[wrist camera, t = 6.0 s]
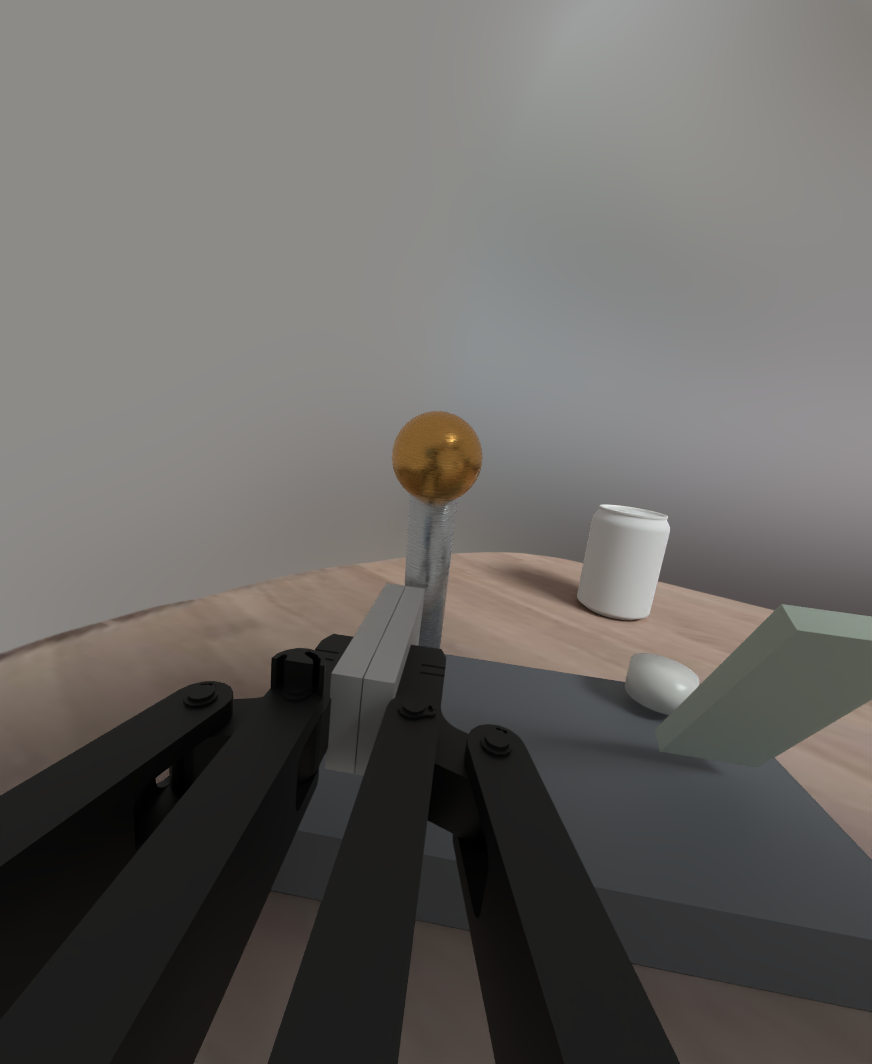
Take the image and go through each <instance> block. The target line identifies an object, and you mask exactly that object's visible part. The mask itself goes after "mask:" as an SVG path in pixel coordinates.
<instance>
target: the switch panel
mask: <svg viewBox="0 0 872 1064" xmlns="http://www.w3.org/2000/svg"><path fill="white" fill-rule="evenodd" d="M444 655H445V656H446V667H445V676H444V684H443V693H442V702H441V712H442V714H443V716H444V718H445V719H446V720H447V721H448V722H449V723H450V724H451V725H452V726H454V727H455V728H457V729H459V730H461V731H464V732H466V733H468V734H469V733H470V731H471V730H472V729H473V728H475V727H477V726H479V725H485V724H493V725H500V726H502V727H505V728H507V729H510V730H511V731H512V732H514V733H515V734H517V735H518V736H519V737H520V739H521V740H522V741H523V743H524V744H525V746H526V748H527V750H528V752H529V754H530V756H531V758H532V760H533V762H534V764H535V766H536V768H537V771H538V773H539V775H540V777H541V779H542V781H543V783H544V785H545V787H546V789H547V791H548V793H549V795H550V797H551V799H552V801H553V803H554V805H555V808H556V810H557V812H558V814H559V816H560V818H561V820H562V822H563V824H564V826H565V828H566V830H567V832H568V834H569V836H570V838H571V840H572V842H573V845H574V847H575V849H576V851H577V853H578V855H579V857H580V859H581V861H582V863H583V865H584V867H585V869H586V871H587V873H588V875H589V877H590V879H591V882H592V884H593V886H594V888H595V890H596V892H597V894H598V896H599V898H600V900H601V902H602V904H603V906H604V908H605V910H606V912H607V914H608V916H609V919H610V921H611V923H612V925H613V927H614V929H615V931H616V933H617V935H618V937H619V939H620V941H621V943H622V945H623V947H624V949H625V951H626V953H627V955H628V958H629V960H630V962H631V963H633V964H638V965H643V966H648V967H653V968H657V969H662V970H667V971H672V972H677V973H682V974H687V975H692V976H697V977H702V978H707V979H712V980H717V981H722V982H727V983H732V984H737V985H742V986H747V987H752V988H756V989H761V990H766V991H771V992H776V993H781V994H786V995H791V996H796V997H801V998H806V999H811V1000H816V1001H821V1002H826V1003H831V1004H836V1005H841V1006H846V1007H851V1008H856V1009H860V1010H865V1011H870V1012H872V860H871V859H870V858H869V857H868V856H867V854H866V853H865V852H864V851H863V850H862V849H861V848H860V847H859V846H858V845H857V844H856V843H855V842H854V841H853V840H852V839H851V838H850V837H849V836H848V834H847V833H846V832H845V831H844V830H843V829H842V828H841V827H840V826H839V825H838V824H837V823H836V822H835V821H834V820H833V819H832V818H831V817H830V816H829V815H828V813H827V812H826V811H825V810H824V809H823V808H822V807H821V806H820V805H819V804H818V803H817V802H816V801H815V800H814V799H813V798H812V797H811V796H810V795H809V793H808V792H807V791H806V790H805V789H804V788H803V787H802V786H801V785H800V784H799V783H798V782H797V781H796V780H795V779H794V778H793V777H792V776H791V775H790V774H789V772H788V771H787V770H786V769H785V768H784V767H783V766H782V765H781V764H780V763H779V762H778V761H777V760H776V759H775V758H773V759H771V760H769V761H767V762H766V763H764V764H762V765H761V766H759V767H757V768H756V767H750V766H744V765H738V764H732V763H726V762H720V761H714V760H708V759H702V758H696V757H690V756H684V755H678V754H672V753H666V752H660V750H659V746H658V742H657V738H656V734H655V729H656V728H657V727H658V726H659V725H660V724H661V723H662V722H663V721H664V720H665V719H666V718H667V717H668V716H669V715H666V714H662V713H659V712H656V711H654V710H651V709H649V708H647V707H645V706H643V705H641V704H640V703H638V702H637V701H635V700H634V699H633V698H632V697H631V696H630V695H629V694H628V693H627V692H626V690H625V687H624V685H625V682H621V681H614V680H608V679H601V678H595V677H588V676H582V675H575V674H569V673H563V672H556V671H550V670H543V669H537V668H530V667H524V666H517V665H511V664H505V663H498V662H492V661H485V660H479V659H472V658H466V657H459V656H453V655H446V654H444ZM325 759H326V753H325V755H324V757H323V759H322V762H321V764H320V766H319V778H318V783H317V787H316V789H315V792H314V794H313V796H312V798H311V801H310V803H309V805H308V807H307V810H306V812H305V814H304V816H303V819H302V821H301V823H300V825H299V828H298V830H297V832H296V834H295V836H294V839H293V841H292V843H291V845H290V848H289V850H288V852H287V854H286V857H285V859H284V861H283V863H282V866H281V868H280V870H279V872H278V875H277V877H276V879H275V881H274V884H273V886H272V888H271V891H276V892H281V893H286V894H291V895H296V896H301V897H306V898H311V899H316V900H321V901H322V899H323V896H324V893H325V890H326V887H327V884H328V881H329V878H330V875H331V872H332V869H333V866H334V863H335V860H336V857H337V854H338V851H339V848H340V845H341V842H342V839H343V836H344V833H345V830H346V827H347V824H348V821H349V818H350V815H351V812H352V809H353V806H354V803H355V800H356V797H357V794H358V791H359V788H360V785H361V782H362V779H363V775H357V774H355V772H354V774H352V773H346V772H340V771H334V770H328V769H325ZM415 920H420V921H425V922H430V923H435V924H440V925H445V926H450V927H454V928H459V929H464V930H469V931H470V929H469V924H468V919H467V913H466V908H465V903H464V898H463V893H462V888H461V883H460V877H459V872H458V867H457V862H456V857H455V852H454V847H453V834H452V833H450V832H448V831H447V830H445V829H443V828H441V827H439V826H437V825H435V824H433V823H431V822H429V821H427V829H426V837H425V845H424V853H423V861H422V870H421V878H420V886H419V894H418V902H417V910H416V918H415Z"/></svg>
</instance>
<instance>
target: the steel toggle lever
mask: <svg viewBox="0 0 872 1064" xmlns="http://www.w3.org/2000/svg"><path fill="white" fill-rule="evenodd" d="M392 462H393V468H394V472H395V474H396V477H397V479H398V481H399V482H400V484H401V485H402V486H403V488H404V489H405V490H406V491H408V492H409V493H410V500H409V519H408V535H407V536H408V537H407V554H406V571H405V587H406V586H410V587H417V588H424V589H425V593H424V602H423V610H422V618H421V627H420V635H419V644H418V646H424V647H431V648H438V649H440V644H441V636H442V627H443V619H444V610H445V602H446V594H447V585H448V577H449V568H450V560H451V552H452V543H453V535H454V526H455V518H456V509H457V501H458V497H460V496H462V495H463V494H465V493H466V492H467V491H468V490H469V489H470V488H471V487H472V485H473V484H474V483H475V481H476V480H477V477H478V476H479V473H480V470H481V465H482V449H481V444H480V441H479V439H478V437H477V435H476V433H475V431H474V430H473V428H472V427H471V426H470V425H469V424H468V423H467V422H466V421H464V420H463V419H462V418H460V417H458V416H456V415H454V414H451V413H448V412H442V411H432V412H426V413H423V414H421V415H418V416H416V417H415V418H413V419H412V420H410V421H409V422H408V423H407V424H406V425H405V426H404V427H403V428H402V430H400V432H399V434H398V435H397V438H396V440H395V442H394V446H393V452H392Z"/></svg>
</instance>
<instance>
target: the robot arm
mask: <svg viewBox="0 0 872 1064" xmlns="http://www.w3.org/2000/svg"><path fill="white" fill-rule="evenodd" d="M424 593H425V589H424V588H417V587H410V586H406V587H405V586H403V585H396V584H389V583H386V585H385V587H384V588H383V590H382V592H381V593H380V595H379V596H378V598H377V600H376V601H375V603H374V605H373V606H372V608H371V610H370V611H369V613H368V614H367V616H366V618H365V619H364V621H363V623H362V624H361V626H360V627H359V629H358V631H357V632H356V634H355V636H354V637H351V636H344V635H337V634H333V635H331V636H329V637H327V638H325V639H323V640H322V641H321V642H320V643H319V645H318V646H317V647H316V649H315V650H312V649H305V648H296V649H289V650H286V651H283V652H280V653H278V654H276V655H275V656H274V657H272V663H271V688H270V690H269V691H268V692H267V693H266V694H265V696H264V697H260V698H251V699H233V691H232V689H231V687H230V686H228V685H226V684H225V683H221V682H215V681H209V682H207V681H206V682H200V683H196V684H191V685H189V686H187V687H184V688H182V689H180V690H178V691H176V692H175V693H173V694H171V695H170V696H168V697H166V698H165V699H163V700H161V701H160V702H158V703H156V704H155V705H153V706H151V707H149V708H148V709H146V710H144V711H143V712H141V713H139V714H138V715H136V716H134V717H133V718H131V719H129V720H128V721H126V722H124V723H122V724H121V725H119V726H117V727H116V728H114V729H112V730H111V731H109V732H107V733H106V734H104V735H102V736H101V737H99V738H97V739H95V740H94V741H92V742H90V743H89V744H87V745H85V746H84V747H82V748H80V749H79V750H77V751H75V752H73V753H72V754H70V755H68V756H67V757H65V758H63V759H62V760H60V761H58V762H57V763H55V764H53V765H52V766H50V767H48V768H46V769H45V770H43V771H41V772H40V773H38V774H36V775H35V776H33V777H31V778H30V779H28V780H26V781H25V782H23V783H21V784H19V785H18V786H16V787H14V788H13V789H11V790H9V791H8V792H6V793H4V794H3V795H1V796H0V1064H193V1063H194V1061H195V1059H196V1056H197V1054H198V1052H199V1050H200V1047H201V1045H202V1043H203V1041H204V1038H205V1036H206V1034H207V1032H208V1030H209V1027H210V1025H211V1023H212V1021H213V1018H214V1016H215V1014H216V1012H217V1009H218V1007H219V1005H220V1003H221V1000H222V998H223V996H224V994H225V991H226V989H227V987H228V985H229V982H230V980H231V978H232V976H233V973H234V971H235V969H236V967H237V964H238V962H239V960H240V958H241V955H242V953H243V951H244V949H245V946H246V944H247V942H248V940H249V937H250V935H251V933H252V931H253V929H254V926H255V924H256V922H257V920H258V917H259V915H260V913H261V911H262V908H263V906H264V904H265V902H266V899H267V897H268V895H269V893H270V890H271V888H272V886H273V884H274V881H275V879H276V877H277V875H278V872H279V870H280V868H281V866H282V863H283V861H284V859H285V857H286V854H287V852H288V850H289V848H290V845H291V843H292V841H293V839H294V836H295V834H296V832H297V830H298V828H299V825H300V823H301V821H302V819H303V816H304V814H305V812H306V810H307V807H308V805H309V803H310V801H311V798H312V796H313V794H314V792H315V789H316V787H317V783H318V778H319V766H320V764H321V762H322V759H323V757H324V755H325V753H326V759H325V769H328V770H334V771H340V772H346V773H352V774H354V772H355V774H357V775H363V779H362V782H361V785H360V788H359V791H358V794H357V797H356V800H355V803H354V806H353V809H352V812H351V815H350V818H349V821H348V824H347V827H346V830H345V833H344V836H343V839H342V842H341V845H340V848H339V851H338V854H337V857H336V860H335V863H334V866H333V869H332V872H331V875H330V878H329V881H328V884H327V887H326V890H325V893H324V896H323V899H322V902H321V905H320V908H319V911H318V914H317V917H316V920H315V923H314V926H313V929H312V932H311V935H310V938H309V941H308V944H307V947H306V950H305V953H304V956H303V959H302V962H301V965H300V968H299V971H298V974H297V977H296V980H295V983H294V986H293V989H292V992H291V995H290V998H289V1001H288V1004H287V1007H286V1010H285V1013H284V1016H283V1019H282V1022H281V1025H280V1028H279V1031H278V1034H277V1037H276V1040H275V1043H274V1046H273V1049H272V1052H271V1055H270V1058H269V1061H268V1064H398V1056H399V1048H400V1040H401V1032H402V1024H403V1016H404V1007H405V999H406V991H407V983H408V975H409V967H410V959H411V951H412V943H413V934H414V926H415V918H416V910H417V902H418V894H419V886H420V878H421V870H422V861H423V853H424V845H425V837H426V829H427V821H429V822H431V823H433V824H435V825H437V826H439V827H441V828H443V829H445V830H447V831H448V832H450V833H452V834H453V847H454V852H455V857H456V862H457V867H458V872H459V877H460V883H461V888H462V893H463V898H464V903H465V908H466V913H467V919H468V924H469V929H470V934H471V939H472V944H473V949H474V955H475V960H476V965H477V970H478V975H479V980H480V986H481V991H482V996H483V1001H484V1006H485V1011H486V1016H487V1022H488V1027H489V1032H490V1037H491V1042H492V1047H493V1052H494V1058H495V1063H496V1064H680V1062H679V1060H678V1058H677V1056H676V1054H675V1052H674V1050H673V1048H672V1046H671V1044H670V1042H669V1040H668V1038H667V1036H666V1034H665V1032H664V1029H663V1027H662V1025H661V1023H660V1021H659V1019H658V1017H657V1015H656V1013H655V1011H654V1009H653V1007H652V1005H651V1003H650V1001H649V999H648V997H647V995H646V992H645V990H644V988H643V986H642V984H641V982H640V980H639V978H638V976H637V974H636V972H635V970H634V968H633V966H632V964H631V962H630V960H629V958H628V955H627V953H626V951H625V949H624V947H623V945H622V943H621V941H620V939H619V937H618V935H617V933H616V931H615V929H614V927H613V925H612V923H611V921H610V919H609V916H608V914H607V912H606V910H605V908H604V906H603V904H602V902H601V900H600V898H599V896H598V894H597V892H596V890H595V888H594V886H593V884H592V882H591V879H590V877H589V875H588V873H587V871H586V869H585V867H584V865H583V863H582V861H581V859H580V857H579V855H578V853H577V851H576V849H575V847H574V845H573V842H572V840H571V838H570V836H569V834H568V832H567V830H566V828H565V826H564V824H563V822H562V820H561V818H560V816H559V814H558V812H557V810H556V808H555V805H554V803H553V801H552V799H551V797H550V795H549V793H548V791H547V789H546V787H545V785H544V783H543V781H542V779H541V777H540V775H539V773H538V771H537V768H536V766H535V764H534V762H533V760H532V758H531V756H530V754H529V752H528V750H527V748H526V746H525V744H524V743H523V741H522V740H521V739H520V737H519V736H518V735H517V734H515V733H514V732H512V731H511V730H510V729H507V728H505V727H502V726H500V725H493V724H485V725H479V726H477V727H475V728H473V729H472V730H471V731H470V733H469V734H468V733H466V732H464V731H461V730H459V729H457V728H455V727H454V726H452V725H451V724H450V723H449V722H448V721H447V720H446V719H445V718H444V716H443V714H442V712H441V702H442V693H443V684H444V676H445V667H446V656H445V655H444V653H443V651H442V650H441V649H438V648H431V647H424V646H418V644H419V635H420V627H421V618H422V610H423V602H424ZM168 768H169V774H170V776H168V777H167V778H166V779H164V780H163V781H161V782H160V783H158V784H156V777H157V776H159V775H160V774H161V773H162V772H164V771H165V770H166V769H168Z"/></svg>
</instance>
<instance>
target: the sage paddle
mask: <svg viewBox="0 0 872 1064" xmlns="http://www.w3.org/2000/svg"><path fill="white" fill-rule="evenodd" d="M870 700H872V617H869V616H863V615H856V614H849V613H841V612H834V611H827V610H819V609H812V608H805V607H798V606H791V605H783V604H782V605H780V606H779V607H778V608H777V609H776V610H775V611H774V612H773V613H772V614H771V615H770V616H769V617H768V618H767V619H766V620H765V621H764V622H763V623H762V624H761V625H760V626H759V627H758V628H757V629H756V630H755V631H754V632H753V633H752V634H751V635H750V636H749V637H748V638H747V639H746V640H745V641H744V642H743V643H742V644H741V645H740V646H739V647H738V648H737V649H736V650H735V651H734V652H733V653H732V654H731V655H730V656H729V657H728V658H727V659H726V660H725V661H724V662H723V663H722V664H721V665H720V666H719V667H718V668H717V669H716V670H715V671H714V672H713V673H712V674H710V675H709V676H708V677H707V678H706V679H705V680H704V681H703V682H702V683H701V684H700V685H699V686H698V687H697V688H696V689H695V690H694V691H693V692H692V693H691V694H690V695H689V696H688V697H687V698H686V699H685V700H684V701H683V702H682V703H681V704H680V705H679V706H678V707H677V708H676V709H675V710H674V711H673V712H672V713H671V714H670V715H669V716H668V717H667V718H666V719H665V720H664V721H663V722H662V723H661V724H660V725H659V726H658V727H657V728H656V729H655V734H656V738H657V742H658V746H659V750H660V752H666V753H672V754H678V755H684V756H690V757H696V758H702V759H708V760H714V761H720V762H726V763H732V764H738V765H744V766H750V767H756V768H757V767H759V766H761V765H762V764H764V763H766V762H767V761H769V760H771V759H773V758H774V757H776V756H778V755H779V754H781V753H783V752H784V751H786V750H788V749H789V748H791V747H793V746H794V745H796V744H798V743H799V742H801V741H803V740H804V739H806V738H808V737H810V736H811V735H813V734H815V733H816V732H818V731H820V730H821V729H823V728H825V727H826V726H828V725H830V724H831V723H833V722H835V721H836V720H838V719H840V718H841V717H843V716H845V715H846V714H848V713H850V712H852V711H853V710H855V709H857V708H858V707H860V706H862V705H863V704H865V703H867V702H868V701H870Z"/></svg>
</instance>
